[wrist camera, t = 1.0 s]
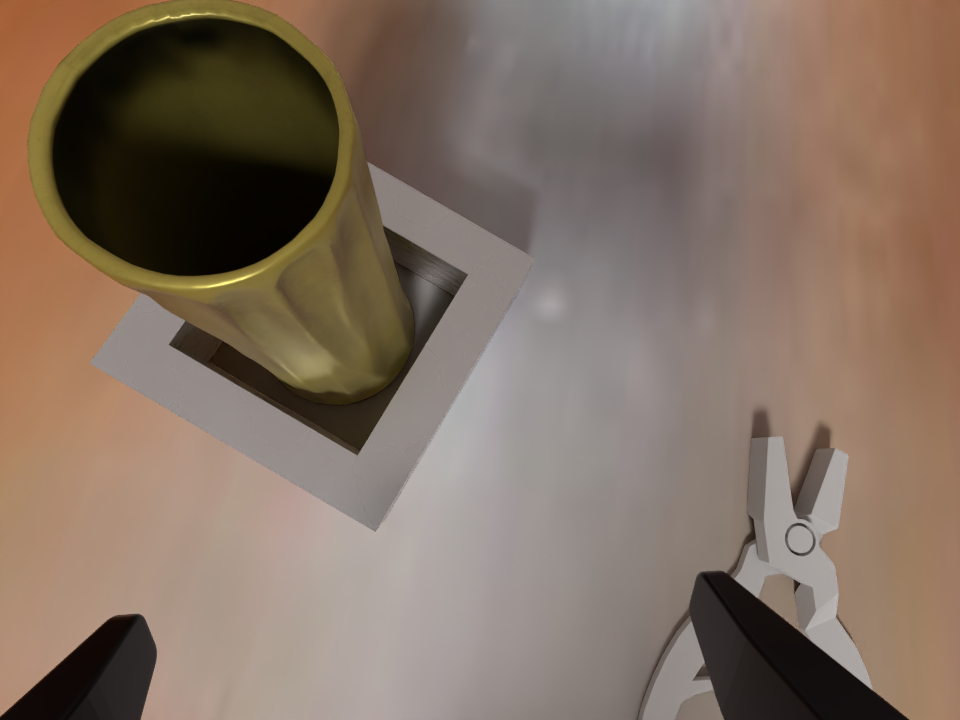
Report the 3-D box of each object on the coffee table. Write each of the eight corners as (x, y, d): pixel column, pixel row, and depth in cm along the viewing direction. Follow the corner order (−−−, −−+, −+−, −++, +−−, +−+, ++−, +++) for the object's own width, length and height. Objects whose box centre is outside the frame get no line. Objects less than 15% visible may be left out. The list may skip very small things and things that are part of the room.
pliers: (633, 838, 20) (691, 416, 22) (619, 810, 21) (674, 419, 24) (900, 887, 20) (925, 467, 23) (867, 856, 22) (894, 467, 24)
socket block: (384, 520, 22) (375, 531, 19) (142, 377, 22) (89, 363, 19) (521, 287, 24) (535, 258, 21) (298, 158, 24) (276, 109, 21)
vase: (394, 244, 24) (337, -56, 10) (431, 383, 23) (426, 269, 9) (248, 278, 23) (-35, 5, 9) (281, 423, 22) (23, 366, 8)
